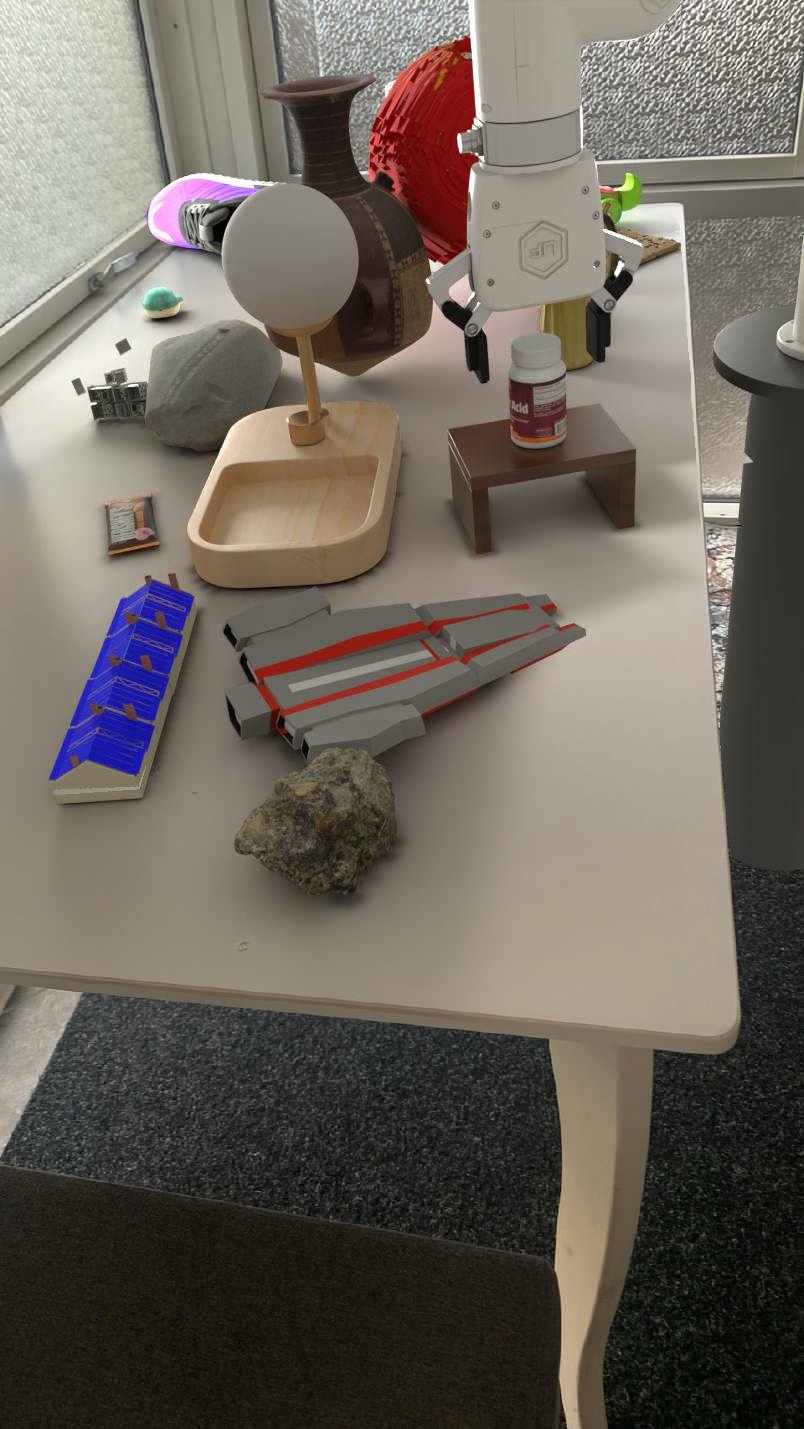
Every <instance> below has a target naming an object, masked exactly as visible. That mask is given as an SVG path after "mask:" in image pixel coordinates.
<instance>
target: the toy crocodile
mask: <svg viewBox="0 0 804 1429" xmlns="http://www.w3.org/2000/svg"><path fill="white" fill-rule="evenodd" d="M599 186H600V194H601V202H602V212H605V213H607V214H608V215H609V216H610V217H611V219H612V220H613V222H614V224H615V226H616V225H618V223H619V222H620V220H621V218H622V214H623V212H628V211H631V210H633V209H635V208H636V207H637V206H639V205H640V203H641V201H642V198H643V184H642V181H641V179H640V177H638V176H637V175H635V174H632V173H630V172H626V173H625V182H624V184H623V185H622V186H620V187H614V188H611V187H610V186H607V185H603V186H602V185H600V184H599Z"/></svg>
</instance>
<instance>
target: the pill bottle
mask: <svg viewBox="0 0 804 1429" xmlns="http://www.w3.org/2000/svg"><path fill="white" fill-rule="evenodd" d="M510 348H511V349H510V350H511V352H510V354H511V356H510V358H511V362H512V363H511V364H510V365H509V367H508V371H507V381H508V382H507V384H508V406H509V419H510V427H511V439H512V441H513V442H514V443H515V444H517V445H518V446H521V447H524V448H530V449H540V448H547V447H552V446H555V445H557V444H559V443H561V442H562V441H563V440H564V439H565V437H566V431H567V429H566V427H567V419H566V409H567V370H566V366H565V364H564V362H563V361H562V360H561V359H560V358H561V340H560V338H559V337H557V336H555V335H553V334H549V333H540V332H532V333H527V334H522V335H519V336H518V337H516V338H514V339H513V340H512V341H511V344H510Z"/></svg>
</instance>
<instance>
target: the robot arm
mask: <svg viewBox="0 0 804 1429" xmlns="http://www.w3.org/2000/svg"><path fill="white" fill-rule="evenodd" d="M681 2H682V0H468V10H469V12H468V13H469V27H470V29H469V30H470V38H471V44H472V60H473V75H474V89H475V104H476V116H477V117H475V118H474V124H475V125H473V127H472V129H471V130H468V132H465V133H459V134H458V146H459V151H460V153H461V154H462V153H468V152H470V154H475V155H476V156H477V157H478V158H479V162H477V163H474V164H473V165H472V167H471V174H470V182H469V193H468V213H467V249H465V250H464V251H463V252H461V253H460V254H459V255H457V256H456V257H455V258H453V259H452V260H451V261H449V262H448V263H447V264H445V265H442V266H441V267H440V268H439V269H437V270H436V271H434V272H433V273H431V274H432V275H431V276H429V277H428V278H427V279H426V280H425V287H426V289H427V290H428V292H429V293H430V295H431V297H432V298H433V302H434V303H435V304H436V306H437V307H438V308H439V310H440V311H441V313H442V315H443V317H444V318H445V319H447V320H448V321H450V322H451V323H452V324H453V325H454V326H456V327H457V328H459V329H460V330H461V331H462V332H463V340H464V352H465V353H464V354H465V363H466V368H467V370H468V372H470V373H471V372H474V375H475V376H476V378H477V379H478V381H479V383H480V385H485V384H488V382H490V381H491V376H490V362H489V347H488V346H489V345H488V335H487V334H486V333H485V331H484V330H483V327H484V325H485V324H486V323H487V321H488V320H489V318H490V316H491V315H492V313H493V312H495V313H498V312H499V313H502V312H509V311H516V310H523V309H528V308H534V307H541V305H546V304H552V303H557V302H563V301H568V300H574V299H579V298H583V297H587V296H590V297H591V299H590V302H589V303H587V306H586V350H587V352H588V353H589V354H590V356H591V357H592V358H593V361H594V362H596V363H597V364H601V363H605V362H606V348H610V347H611V344H612V312H613V311H615V309H616V308H617V302H618V301H619V300H620V299H621V298H622V297H623V295H624V294H625V293H626V292H627V291H628V289H629V288H630V287H631V286H632V284H633V282H634V276H635V273H637V271H638V269H639V267H640V265H641V264H640V262H641V260H642V258H643V256H644V253H645V249H644V247H643V246H642V245H641V244H639V243H638V242H636V241H634V240H631V239H629V238H626V237H623V236H621V235H618V234H616V233H613V232H610V231H608V230H605V229H604V223H603V213H602V202H601V194H600V186H601V185H600V181H599V174H598V167H597V162H596V158H595V155H594V153H593V152H592V151H591V150H588V149H586V148H583V111H582V110H583V109H582V108H583V106H582V49H583V48H584V46H587V45H589V44H591V45H592V44H599V43H611V42H628V41H629V42H630V41H634V40H637V39H641V38H643V37H646V36H648V35H650V34H653V33H654V32H655V31H657V30H658V29H660V28H661V27H663V25H665V24H666V23H667V22H668V21H669V20H670V18H672V16H673V15H674V13H676V11H677V9H678V7H679V6H680V4H681ZM599 185H600V186H599ZM606 250H607V251H609V252H612V253H614V254H617V255H620V259H619V262H618V266H617V268H616V269H614V271H613V272H612V273H611V274H610V275H609V277H608V278H607V279H606ZM798 273H799V274H798V280H797V281H798V283H797V289H796V290H797V291H796V300H795V304H796V307H795V316H794V320H791V321H789V322H787V323H786V324H784V325H783V326H782V327H781V328H780V329H779V330H778V333H777V346H778V348H779V349H780V350H781V351H782V352H783V353H785V354H787V355H788V356H790V357H793V358H795V359H798V360H802V361H804V236H803V238H802V247H801V256H800V264H799V272H798ZM466 276H468V283H469V287H470V290H471V292H472V294H471V295H470V297H469V298H468V300H467V301H466V303H465V304H464V306H462V305H460V303H458V302H457V301H456V300H455V299H453V298H452V296H451V295H450V288H451V287H452V286H454V285H455V284H457V282H459V281H460V280H461V279H463V278H464V277H466ZM605 279H606V280H605Z"/></svg>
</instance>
